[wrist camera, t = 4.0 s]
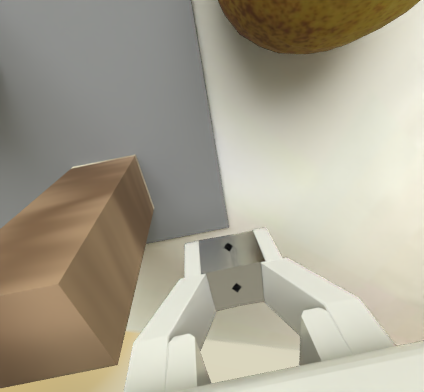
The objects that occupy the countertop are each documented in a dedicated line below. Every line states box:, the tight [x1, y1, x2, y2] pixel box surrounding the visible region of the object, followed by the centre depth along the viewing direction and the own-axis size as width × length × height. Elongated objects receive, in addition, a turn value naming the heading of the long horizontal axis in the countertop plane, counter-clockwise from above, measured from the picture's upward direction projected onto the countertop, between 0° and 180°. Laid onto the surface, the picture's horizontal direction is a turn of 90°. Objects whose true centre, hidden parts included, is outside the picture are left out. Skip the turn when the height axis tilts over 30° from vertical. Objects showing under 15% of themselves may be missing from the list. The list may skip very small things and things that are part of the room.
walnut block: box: [0, 155, 154, 388], centre depth 11 cm, size 4×4×10 cm
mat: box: [0, 0, 229, 244], centre depth 14 cm, size 20×18×1 cm
